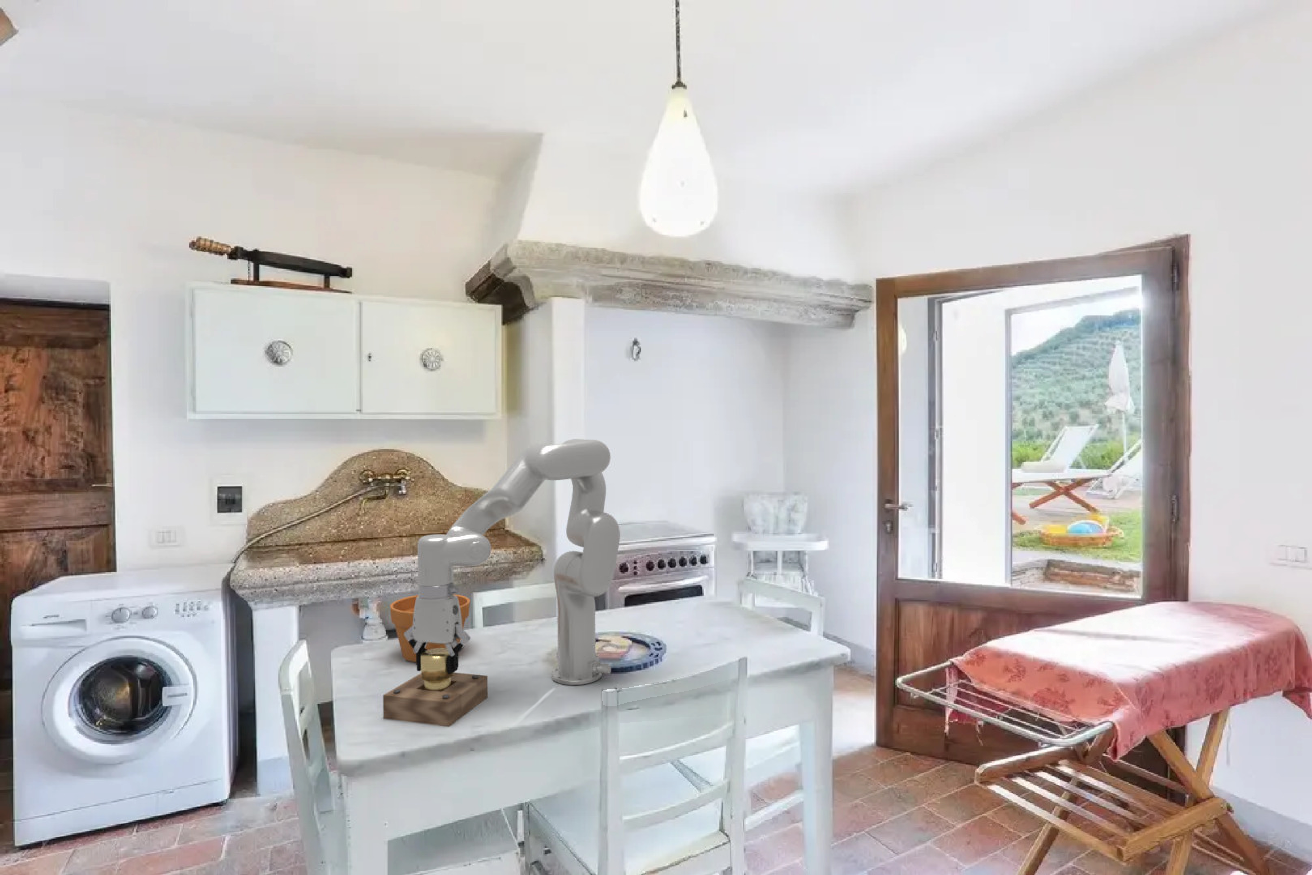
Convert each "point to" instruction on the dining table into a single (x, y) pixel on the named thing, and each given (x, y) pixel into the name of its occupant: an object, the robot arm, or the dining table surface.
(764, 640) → the dining table surface
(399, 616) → the flower pot
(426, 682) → the yellow translucent cylinder
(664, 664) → the dining table surface
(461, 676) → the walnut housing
